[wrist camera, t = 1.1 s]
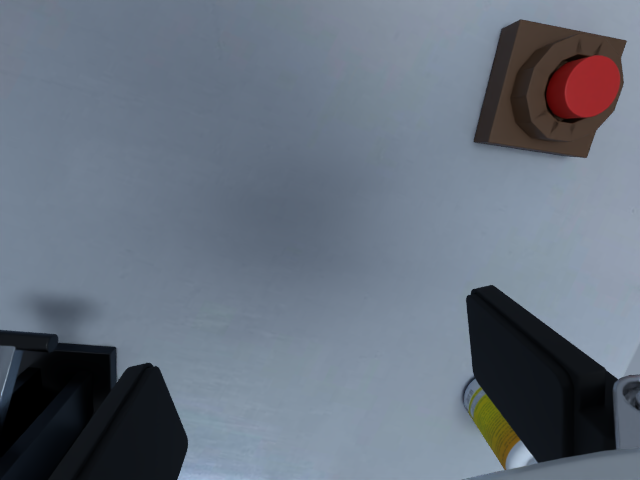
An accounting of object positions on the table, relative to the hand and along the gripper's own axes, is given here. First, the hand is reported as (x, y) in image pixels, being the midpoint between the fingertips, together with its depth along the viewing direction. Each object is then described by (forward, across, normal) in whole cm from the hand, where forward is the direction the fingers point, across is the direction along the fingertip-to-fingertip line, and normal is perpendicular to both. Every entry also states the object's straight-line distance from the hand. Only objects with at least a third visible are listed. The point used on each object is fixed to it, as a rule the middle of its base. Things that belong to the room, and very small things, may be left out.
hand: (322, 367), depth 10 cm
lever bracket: (+19, +23, +10) cm, 32 cm away
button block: (+19, -20, -6) cm, 28 cm away
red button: (+15, -20, -6) cm, 25 cm away
